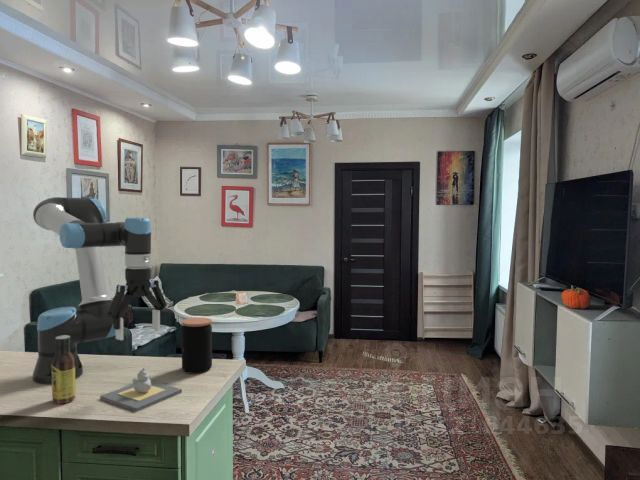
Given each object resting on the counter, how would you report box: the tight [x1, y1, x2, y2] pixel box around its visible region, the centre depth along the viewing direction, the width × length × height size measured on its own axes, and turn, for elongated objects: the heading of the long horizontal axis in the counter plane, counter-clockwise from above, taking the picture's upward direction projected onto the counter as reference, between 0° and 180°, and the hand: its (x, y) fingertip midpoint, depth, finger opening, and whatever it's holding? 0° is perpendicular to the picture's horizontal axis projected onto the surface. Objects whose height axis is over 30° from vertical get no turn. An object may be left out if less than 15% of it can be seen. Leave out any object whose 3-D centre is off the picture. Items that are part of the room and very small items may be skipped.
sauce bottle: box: [51, 335, 77, 405], centre depth 140 cm, size 7×6×20 cm
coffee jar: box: [181, 317, 213, 374], centre depth 170 cm, size 11×11×18 cm
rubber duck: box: [132, 366, 152, 393], centre depth 145 cm, size 5×7×8 cm
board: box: [99, 379, 183, 413], centre depth 145 cm, size 17×17×1 cm
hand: (138, 334), depth 146 cm, fingers open, 13 cm apart
